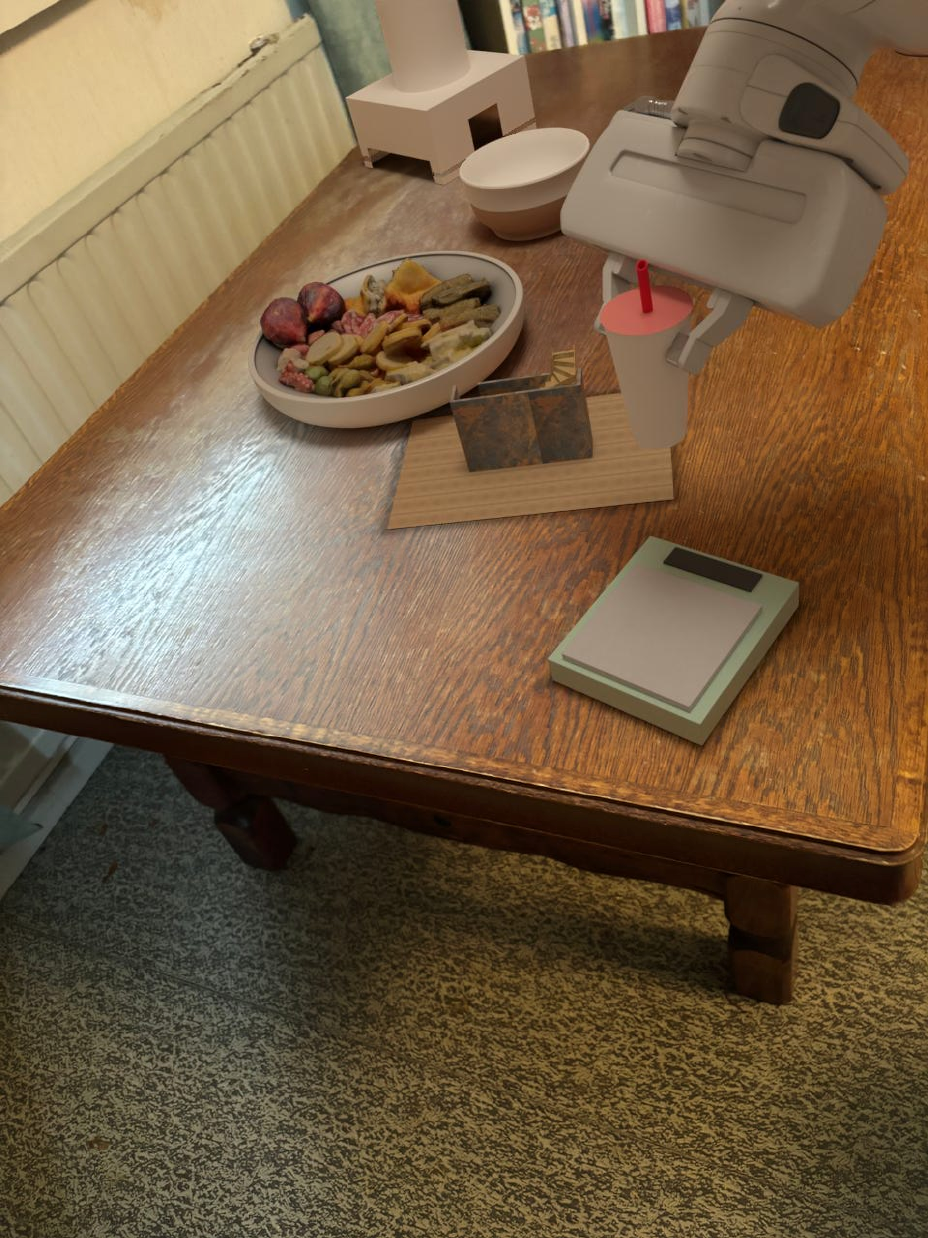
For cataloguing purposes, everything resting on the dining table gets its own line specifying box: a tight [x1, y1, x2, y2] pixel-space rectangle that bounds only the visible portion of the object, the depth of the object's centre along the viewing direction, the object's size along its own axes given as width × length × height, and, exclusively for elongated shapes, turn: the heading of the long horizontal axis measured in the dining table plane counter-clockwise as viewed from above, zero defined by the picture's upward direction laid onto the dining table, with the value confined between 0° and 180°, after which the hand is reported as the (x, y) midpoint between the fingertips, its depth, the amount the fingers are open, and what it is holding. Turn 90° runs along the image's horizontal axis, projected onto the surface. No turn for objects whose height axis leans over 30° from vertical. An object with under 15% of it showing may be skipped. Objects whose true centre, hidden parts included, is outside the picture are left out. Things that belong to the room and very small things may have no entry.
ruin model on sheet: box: [386, 344, 675, 530], centre depth 85 cm, size 25×16×10 cm, turn 84°
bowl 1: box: [247, 250, 526, 429], centre depth 102 cm, size 30×30×8 cm
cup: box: [600, 259, 694, 450], centre depth 58 cm, size 5×5×12 cm
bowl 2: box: [458, 127, 591, 242], centre depth 119 cm, size 16×16×8 cm
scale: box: [547, 535, 800, 746], centre depth 68 cm, size 12×14×3 cm
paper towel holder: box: [345, 0, 538, 186], centre depth 135 cm, size 19×19×30 cm
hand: (643, 352), depth 58 cm, fingers closed on cup, 5 cm apart
